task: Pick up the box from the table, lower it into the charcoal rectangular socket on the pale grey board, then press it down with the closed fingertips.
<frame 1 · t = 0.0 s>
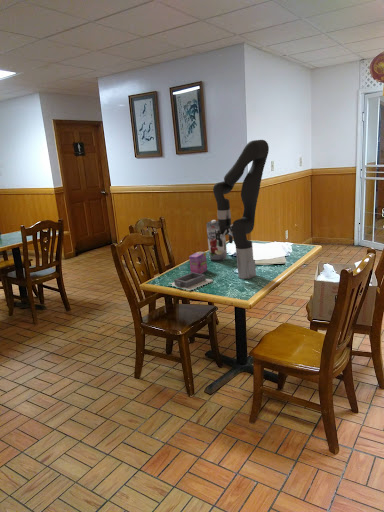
hand: (226, 244, 229), 17 cm above the table, tool pointing down, fingers open, 8 cm apart
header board: (190, 283, 222), on the table
box: (199, 273, 240), on the table
juice carton: (218, 259, 263), on the table
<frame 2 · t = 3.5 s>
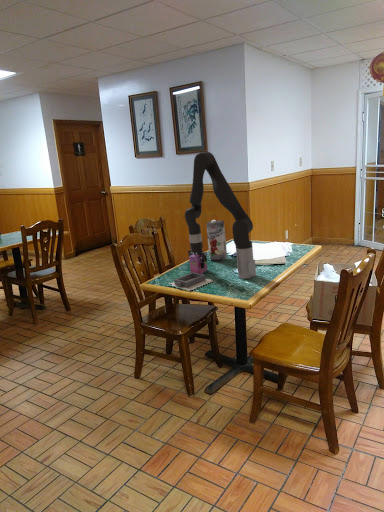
hand: (198, 267, 240), 3 cm above the table, tool pointing down, fingers closed on box, 6 cm apart
box: (199, 272, 240), on the table, touching gripper
everything else where it was.
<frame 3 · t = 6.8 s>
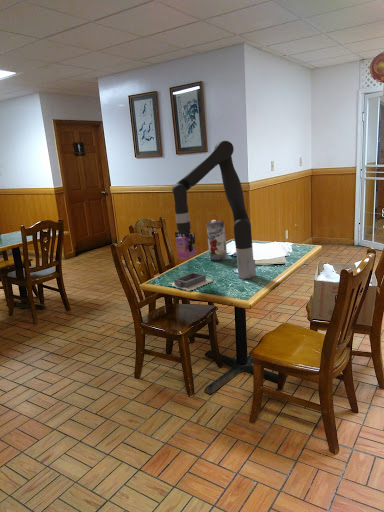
hand: (186, 250, 217), 19 cm above the table, tool pointing down, fingers closed on box, 6 cm apart
box: (187, 256, 218), point 16 cm above the table, touching gripper
everything else where it was.
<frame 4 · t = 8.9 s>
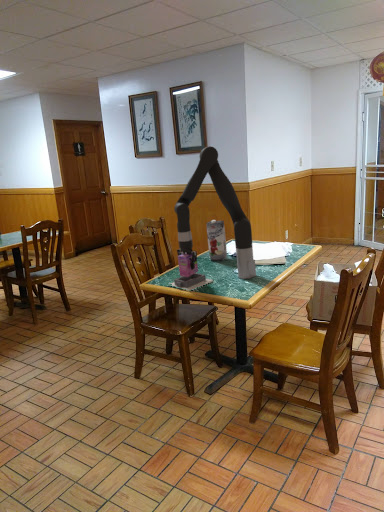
hand: (188, 268, 220), 9 cm above the table, tool pointing down, fingers closed on box, 6 cm apart
box: (189, 274, 221), point 6 cm above the table, touching gripper
everything else where it was.
when the fingers open (6 cm above the table, at t = 10.4 s): box drops 2 cm, resting on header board.
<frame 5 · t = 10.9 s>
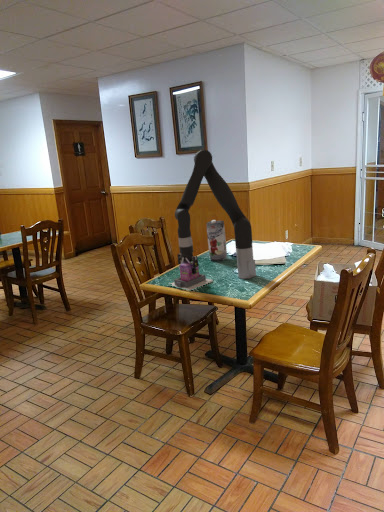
hand: (189, 272, 221), 7 cm above the table, tool pointing down, fingers open, 8 cm apart
box: (191, 282, 222), point 1 cm above the table, touching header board
everything else where it was.
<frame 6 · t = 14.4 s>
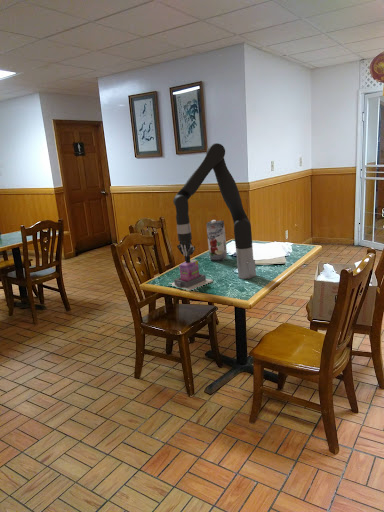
hand: (187, 262, 219), 13 cm above the table, tool pointing down, fingers closed
box: (191, 282, 222), point 1 cm above the table, touching gripper, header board
everything else where it was.
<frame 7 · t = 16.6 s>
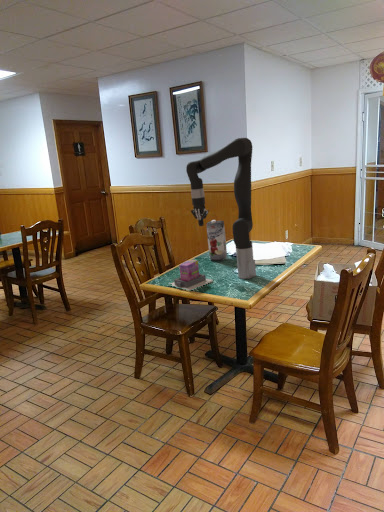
hand: (201, 225, 233), 29 cm above the table, tool pointing down, fingers closed
box: (191, 282, 222), point 1 cm above the table, touching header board
everything else where it was.
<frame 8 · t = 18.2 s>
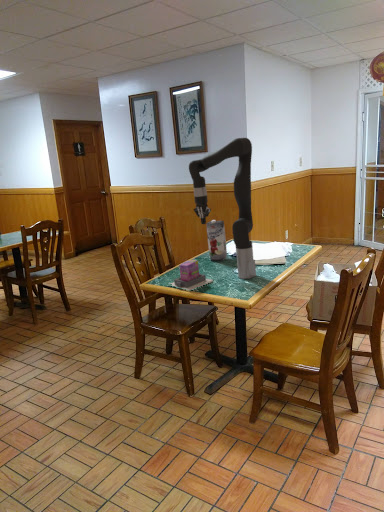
hand: (203, 224, 235), 29 cm above the table, tool pointing down, fingers closed
nothing on the table moved.
at the end: box 0.4 cm off-centre on the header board, point 0.8 cm above the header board's base; box tilted 0°; the gripper is holding nothing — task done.
